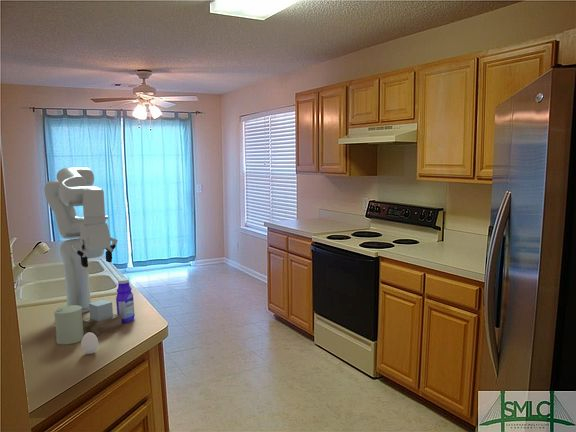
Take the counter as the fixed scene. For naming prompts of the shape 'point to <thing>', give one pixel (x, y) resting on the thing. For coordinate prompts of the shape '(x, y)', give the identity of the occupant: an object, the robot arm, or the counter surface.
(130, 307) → the bottle
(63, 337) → the can
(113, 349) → the counter surface
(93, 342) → the egg
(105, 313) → the grey cube
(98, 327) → the walnut block
